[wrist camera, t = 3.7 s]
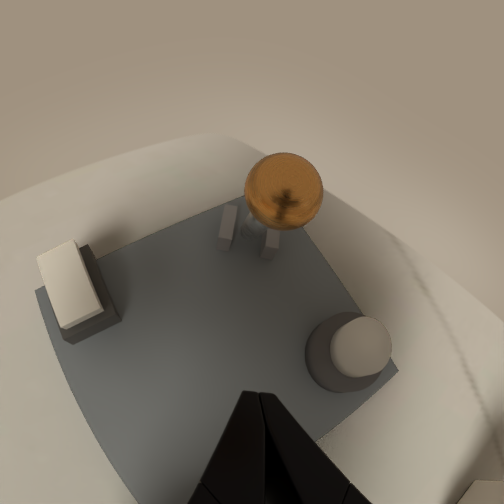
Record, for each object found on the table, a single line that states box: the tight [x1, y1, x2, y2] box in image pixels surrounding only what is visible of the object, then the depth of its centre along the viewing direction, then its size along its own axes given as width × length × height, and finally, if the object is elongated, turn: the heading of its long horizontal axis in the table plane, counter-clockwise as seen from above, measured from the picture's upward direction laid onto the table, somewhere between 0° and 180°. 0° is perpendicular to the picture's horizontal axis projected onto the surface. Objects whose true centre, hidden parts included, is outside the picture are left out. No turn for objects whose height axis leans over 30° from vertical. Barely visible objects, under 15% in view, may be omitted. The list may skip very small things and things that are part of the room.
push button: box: [330, 317, 392, 378], centre depth 16 cm, size 3×3×1 cm
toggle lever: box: [240, 153, 323, 241], centre depth 14 cm, size 3×3×11 cm
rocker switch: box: [36, 239, 104, 329], centre depth 14 cm, size 4×2×1 cm, turn 31°
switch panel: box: [35, 195, 399, 504], centre depth 17 cm, size 16×18×3 cm
